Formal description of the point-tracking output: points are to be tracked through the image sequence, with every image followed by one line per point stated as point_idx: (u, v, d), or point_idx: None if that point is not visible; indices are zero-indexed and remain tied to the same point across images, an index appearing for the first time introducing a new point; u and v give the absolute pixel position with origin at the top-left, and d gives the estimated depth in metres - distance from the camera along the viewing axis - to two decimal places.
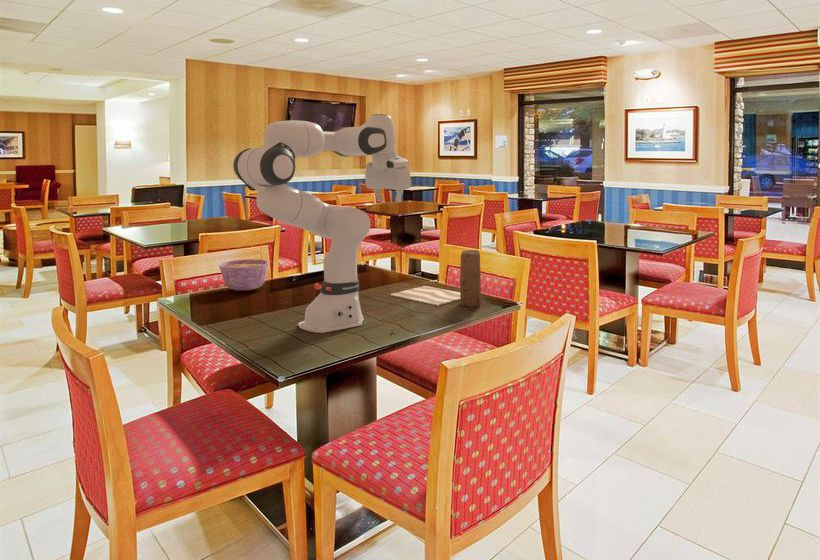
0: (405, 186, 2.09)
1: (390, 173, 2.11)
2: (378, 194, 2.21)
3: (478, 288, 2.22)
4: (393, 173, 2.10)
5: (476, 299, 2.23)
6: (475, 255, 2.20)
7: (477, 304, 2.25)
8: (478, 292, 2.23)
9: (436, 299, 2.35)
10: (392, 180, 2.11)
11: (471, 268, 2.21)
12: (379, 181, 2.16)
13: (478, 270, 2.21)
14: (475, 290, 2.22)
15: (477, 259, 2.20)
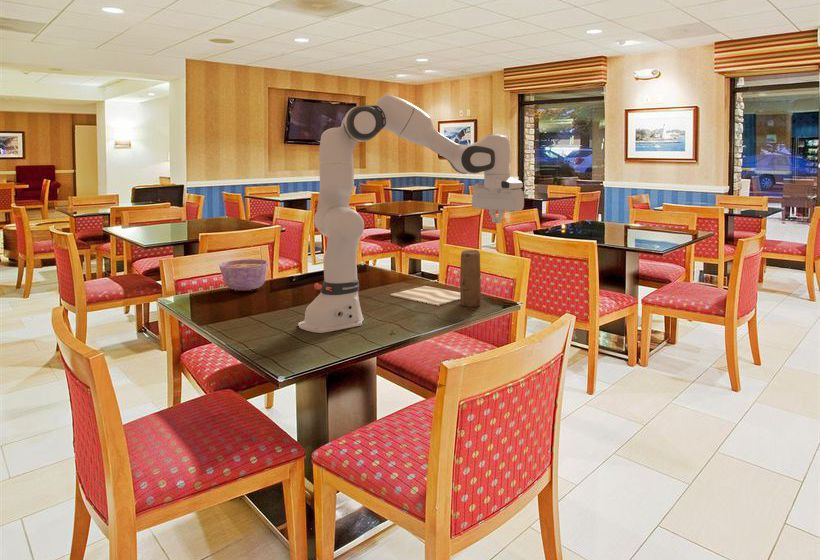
0: (519, 207, 2.05)
1: (503, 194, 2.08)
2: (493, 215, 2.14)
3: (478, 288, 2.22)
4: (507, 194, 2.07)
5: (476, 299, 2.23)
6: (475, 255, 2.20)
7: (477, 304, 2.25)
8: (478, 292, 2.23)
9: (436, 299, 2.35)
10: (505, 201, 2.08)
11: (471, 268, 2.21)
12: (489, 201, 2.13)
13: (478, 270, 2.21)
14: (475, 290, 2.22)
15: (477, 259, 2.20)
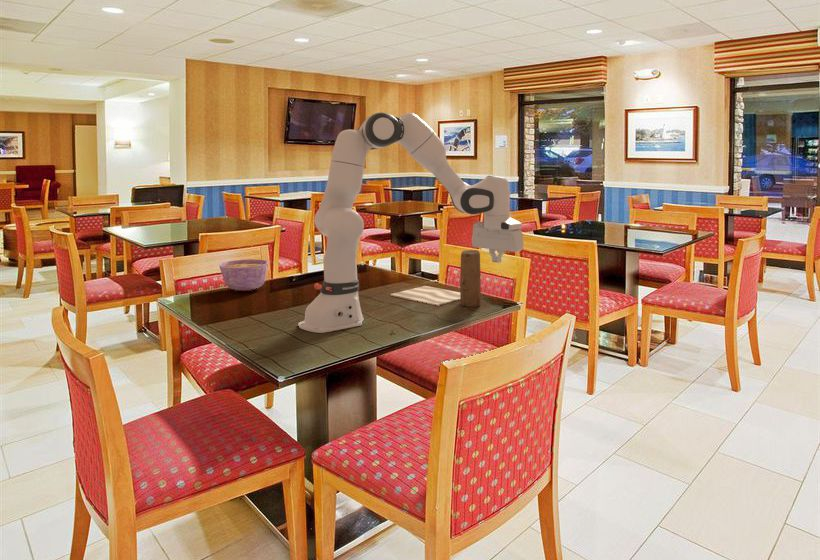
0: (518, 248, 2.08)
1: (502, 234, 2.11)
2: (493, 255, 2.17)
3: (478, 288, 2.22)
4: (506, 235, 2.10)
5: (476, 299, 2.23)
6: (475, 255, 2.20)
7: (477, 304, 2.25)
8: (478, 292, 2.23)
9: (436, 299, 2.35)
10: (504, 241, 2.11)
11: (471, 268, 2.21)
12: (489, 241, 2.16)
13: (478, 270, 2.21)
14: (475, 290, 2.22)
15: (477, 259, 2.20)
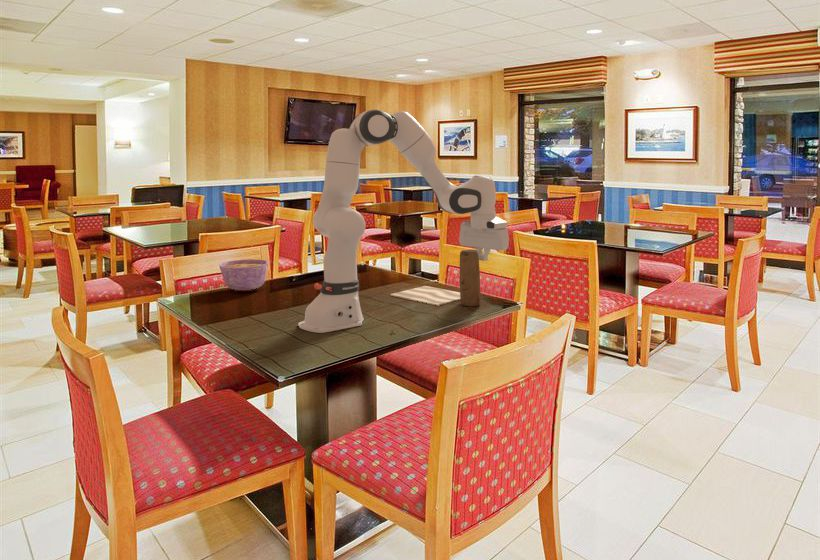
0: (504, 247, 2.12)
1: (488, 233, 2.15)
2: (480, 253, 2.21)
3: (478, 287, 2.23)
4: (492, 233, 2.14)
5: (476, 298, 2.23)
6: (474, 254, 2.21)
7: (477, 303, 2.25)
8: (478, 291, 2.23)
9: (436, 299, 2.35)
10: (490, 240, 2.15)
11: (470, 267, 2.21)
12: (476, 240, 2.20)
13: (477, 269, 2.21)
14: (475, 289, 2.23)
15: (476, 258, 2.21)
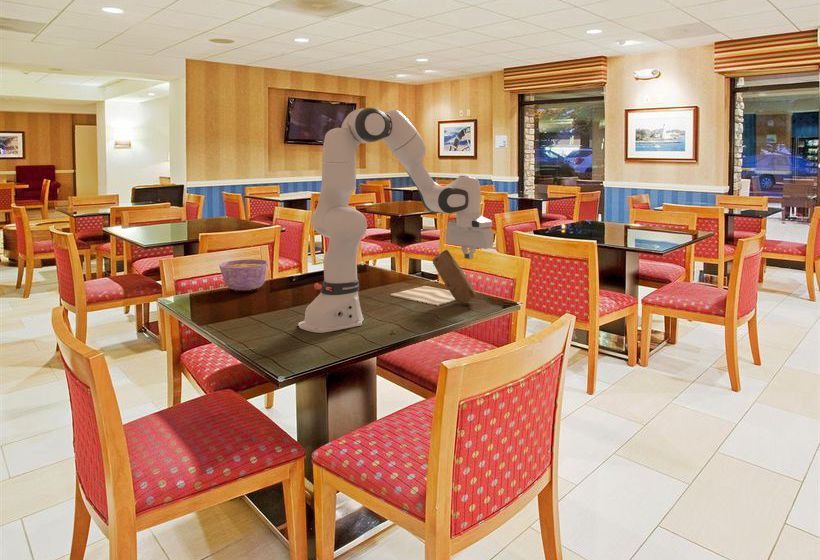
0: (488, 245, 2.17)
1: (473, 232, 2.20)
2: (465, 252, 2.26)
3: (463, 281, 2.23)
4: (477, 232, 2.19)
5: (468, 292, 2.23)
6: (443, 255, 2.22)
7: (472, 296, 2.24)
8: (465, 285, 2.23)
9: (436, 299, 2.35)
10: (475, 238, 2.20)
11: (446, 268, 2.22)
12: (461, 238, 2.25)
13: (453, 266, 2.22)
14: (462, 284, 2.23)
15: (446, 257, 2.22)
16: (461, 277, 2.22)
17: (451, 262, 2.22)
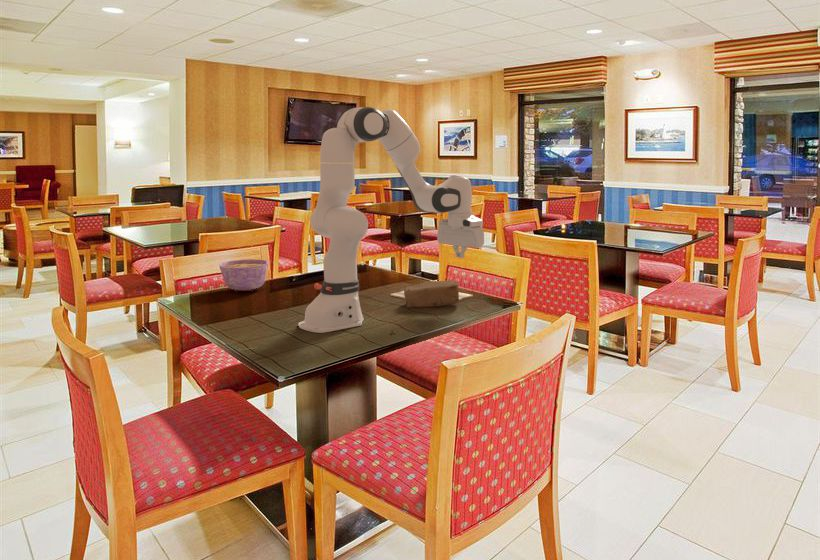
0: (479, 244, 2.20)
1: (465, 231, 2.23)
2: (457, 250, 2.29)
3: (438, 289, 2.22)
4: (468, 231, 2.22)
5: (449, 290, 2.22)
6: (405, 295, 2.24)
7: (455, 288, 2.23)
8: (442, 289, 2.22)
9: None
10: (466, 237, 2.23)
11: (418, 298, 2.24)
12: (452, 237, 2.28)
13: (420, 291, 2.23)
14: (440, 292, 2.22)
15: (409, 293, 2.23)
16: (433, 289, 2.22)
17: (415, 291, 2.23)
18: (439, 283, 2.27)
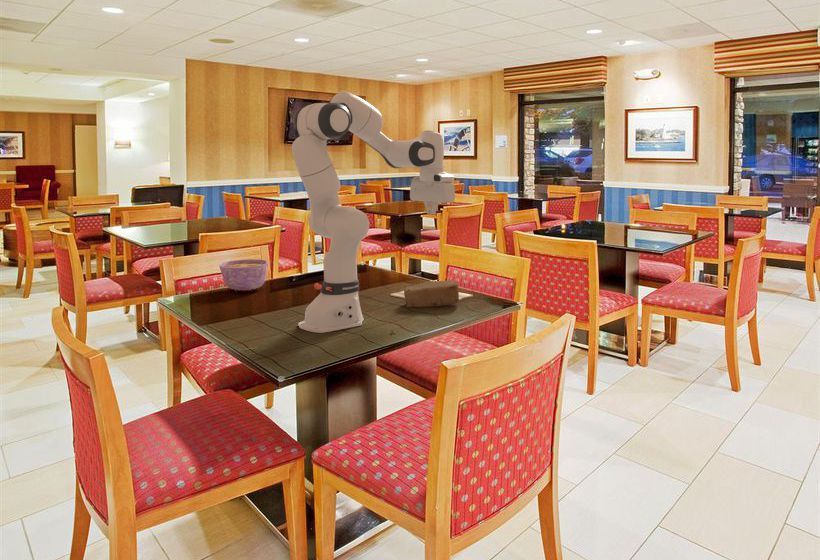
0: (449, 199, 2.20)
1: (436, 187, 2.23)
2: (428, 207, 2.29)
3: (438, 289, 2.22)
4: (439, 187, 2.22)
5: (450, 290, 2.22)
6: (405, 295, 2.24)
7: (455, 288, 2.23)
8: (442, 289, 2.22)
9: None
10: (437, 193, 2.23)
11: (418, 298, 2.24)
12: (424, 194, 2.28)
13: (420, 291, 2.23)
14: (440, 292, 2.22)
15: (409, 293, 2.23)
16: (433, 289, 2.22)
17: (415, 291, 2.23)
18: (439, 283, 2.27)
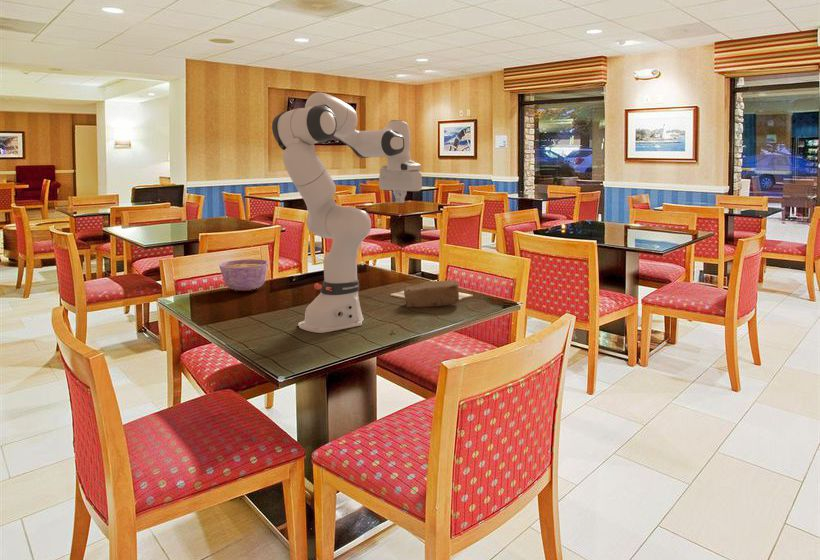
0: (416, 188, 2.24)
1: (403, 175, 2.27)
2: (397, 196, 2.33)
3: (438, 289, 2.22)
4: (406, 175, 2.26)
5: (450, 290, 2.22)
6: (405, 295, 2.24)
7: (455, 288, 2.23)
8: (442, 289, 2.22)
9: None
10: (405, 182, 2.27)
11: (418, 298, 2.24)
12: (392, 183, 2.31)
13: (420, 291, 2.23)
14: (440, 292, 2.22)
15: (409, 293, 2.23)
16: (433, 289, 2.22)
17: (415, 291, 2.23)
18: (439, 283, 2.27)
